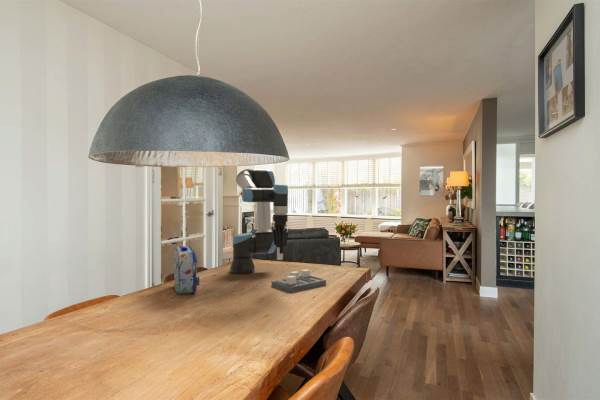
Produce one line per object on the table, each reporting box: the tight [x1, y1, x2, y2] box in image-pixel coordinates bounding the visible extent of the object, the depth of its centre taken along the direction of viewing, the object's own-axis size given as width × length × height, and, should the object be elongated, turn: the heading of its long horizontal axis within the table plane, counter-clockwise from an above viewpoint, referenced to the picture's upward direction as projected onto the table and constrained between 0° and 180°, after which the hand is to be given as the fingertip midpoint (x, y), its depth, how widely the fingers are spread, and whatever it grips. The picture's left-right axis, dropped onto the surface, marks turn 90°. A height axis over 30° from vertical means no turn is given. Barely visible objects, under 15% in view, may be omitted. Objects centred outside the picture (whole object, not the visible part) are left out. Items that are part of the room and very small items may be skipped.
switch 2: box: [300, 268, 311, 277], centre depth 191 cm, size 3×4×4 cm
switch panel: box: [271, 275, 327, 293], centre depth 182 cm, size 16×24×3 cm, turn 131°
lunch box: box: [173, 245, 201, 295], centre depth 172 cm, size 28×10×22 cm, turn 25°
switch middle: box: [289, 271, 300, 279], centre depth 185 cm, size 3×4×4 cm
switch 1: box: [285, 275, 296, 285], centre depth 175 cm, size 3×4×4 cm
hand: (279, 259), depth 182 cm, fingers closed
